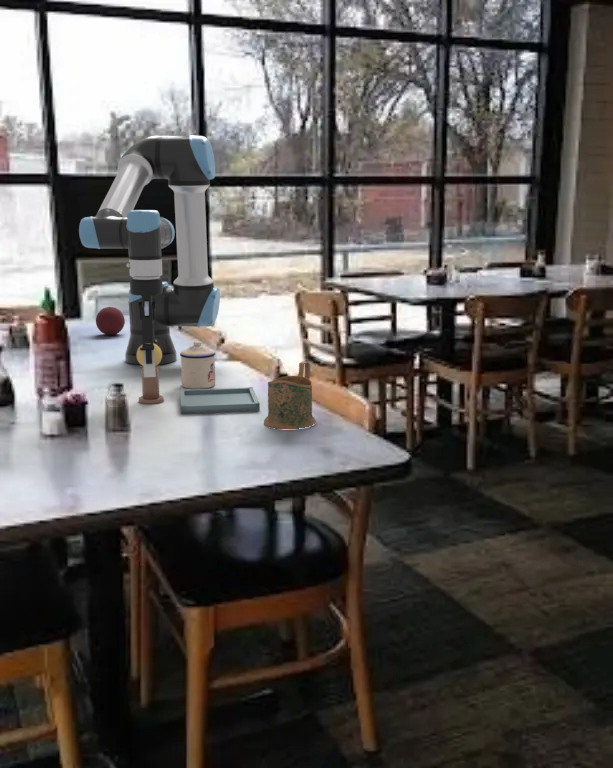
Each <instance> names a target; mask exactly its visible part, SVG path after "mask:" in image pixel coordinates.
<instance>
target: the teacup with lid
mask: <svg viewBox="0 0 613 768" xmlns="http://www.w3.org/2000/svg"><path fill="white" fill-rule="evenodd" d="M179 355H180V365H181V370H180V371H181V386H182V387H183V388H185V389H188V390H190V389H211V388H213V387H214V386H215V385H216V370H215V368H216V367H215V365H216V363H215V361H216V360H215V355H216V352H215V350H214V349H212V348H209V347H207V346H205V345H202V341H193V344H192V345H190V346H188V348H185V349H181V351H180V353H179Z"/></svg>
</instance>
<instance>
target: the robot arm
mask: <svg viewBox="0 0 613 768" xmlns="http://www.w3.org/2000/svg"><path fill="white" fill-rule="evenodd" d="M211 144H212V143H211V142H210V140H209V139H208V137H206V136H203V135H192V134H191V135H152V136H147V137H145V138H142V139H141V140H139V141H137V142H136V143H134V144H133V145H132V146H131V147H129V148H128V149H126V151H125V152H124V153H123V154H122V156H121V158H120V160H119V162H118V163H117V164H118V165H117V174H116V176H115V178H114V180H113V182H112V184H111V186H110V188H109V190H108V192H107V194H106V195H105V198H104V199H103V201H102V203H101V205H100V207H99V210H98V211H97V212H96V215H95V216H87V217H86V216H85V217H83V218H82V219H80V223H79V226H78V227H79V228H78V233H79V239H80V242H81V245H82V246H83V247H85V248H88V249H98V250H101V249H102V250H104V249H126V250H127V249H128V262H126V267H127V268H129V276H130V277H132V278H130V279H129V288H130V289H129V291H128V300H127V301H128V302H127V303H128V313H129V330H130V331H129V332H130V335H129V340H128V343H127V347H126V350H125V355H124V356H125V362H126V363H128V364H130V365H137V366H138V365H140V366H142V365H141V364H140V363H139V362H138V360H137V350H138V348H139V347H140V346H141V345H143V346H142V348H140V351H143V366H142V368H144V377H156V373H155V349H154V344H156V345H157V346H158V347H159V348H160V349H161V352H162V359H161V361H160V363H159V364H158V365H164V364H170V363H173V362H176V361H177V360H178V359H177V358H178V357H177V350H176V347H175V345H174V342H173V339H172V335H171V334H170V333H171V332H170V329H171V328H170V327H187V328H188V327H191V328H202V327H203V328H206V327H212V326H213V325H214V324H215V323H216V321H217V319H218V315H219V310H220V309H219V308H220V302H221V301H220V300H221V292H220V288H219V287H217V286H215V285H214V280H213V278H211V277H210V276H209V269H208V266H209V265H208V244H207V243H208V241H207V240H208V239H207V215H206V195H205V194H206V190H207V189H208V188H209V187H210V186H211V182H210V180H213V179H215V177H216V160H215V155H214V151H213V147H212V145H211ZM156 179H160V180H167V184H168V187H169V188H170V189H171V190H172V191H173V193H174V195H173V196H174V197H173V198H174V214H175V215H174V216H175V228H174V224H173V223H172V222H171V221H170V220H168V219H167V218H164V217H163V216H160V212H159V211H158V210H155V209H135V206H136V205H137V202H138V200H139V198H140V196H141V194H142V191H143V189H144V187H145V186H147V185H148V184H149V183H150V182H151V181H152V180H156ZM175 233H176V256H177V275H178V276H177V277H176V278H175V279H174V281H173V286H170V285H169V283H168V282H167V281H163V279H162V276H163V260H162V250H163V249H164V248H166V247H168V246H169V245H170V244H172V242H173V241H174V239H175ZM149 343H150V344H149Z"/></svg>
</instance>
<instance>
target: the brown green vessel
mask: <svg viewBox="0 0 613 768" xmlns="http://www.w3.org/2000/svg"><path fill="white" fill-rule="evenodd" d="M310 377H311V366H310V362H309V361H303V360H302V361H300V362H299V364H298V374H297V375H285V376H281V377H277V378H274V379H272V380H271V381H268V382H267V408H268V409H267V412H268V413H267V416H266V417H265V418H264V419H263V424H264V426H265V427H267V428H269V427H270V429H272V428H275V429H274V430H277V429H299V428H305V427H309V426H312V425H313V424H315V423H316V424H317V419H316V418H315V417H314V416H313V382H312V380H310Z"/></svg>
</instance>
